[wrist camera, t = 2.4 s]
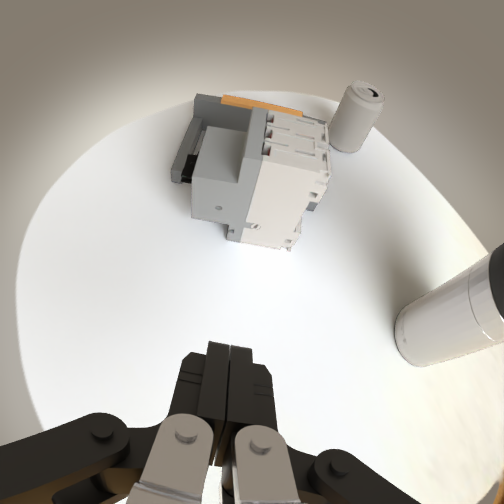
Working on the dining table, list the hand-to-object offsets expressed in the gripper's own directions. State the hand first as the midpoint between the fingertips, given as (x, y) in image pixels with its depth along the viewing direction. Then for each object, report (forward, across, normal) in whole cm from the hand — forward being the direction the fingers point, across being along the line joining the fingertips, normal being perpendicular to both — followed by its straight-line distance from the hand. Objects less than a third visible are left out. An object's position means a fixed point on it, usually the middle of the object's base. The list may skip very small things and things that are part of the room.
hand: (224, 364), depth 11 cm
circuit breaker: (+32, 0, +1) cm, 32 cm away
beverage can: (+46, -15, -13) cm, 50 cm away
